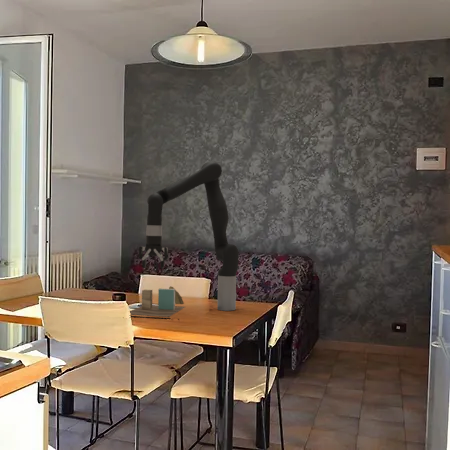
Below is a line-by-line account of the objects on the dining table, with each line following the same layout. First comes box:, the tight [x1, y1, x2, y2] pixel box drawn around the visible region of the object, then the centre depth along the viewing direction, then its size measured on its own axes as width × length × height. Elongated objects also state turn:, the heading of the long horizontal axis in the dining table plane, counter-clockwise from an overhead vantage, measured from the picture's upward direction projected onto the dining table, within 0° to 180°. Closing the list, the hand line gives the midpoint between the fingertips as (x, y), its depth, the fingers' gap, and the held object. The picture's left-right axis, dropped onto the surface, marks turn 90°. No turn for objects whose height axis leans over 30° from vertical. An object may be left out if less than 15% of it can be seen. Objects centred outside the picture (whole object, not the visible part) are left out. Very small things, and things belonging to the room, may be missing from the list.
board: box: [130, 304, 186, 320], centre depth 258 cm, size 28×22×1 cm
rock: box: [168, 286, 185, 305], centre depth 278 cm, size 11×9×10 cm
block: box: [141, 289, 153, 309], centre depth 263 cm, size 4×4×9 cm
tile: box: [157, 287, 176, 310], centre depth 261 cm, size 2×8×10 cm, turn 78°
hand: (153, 268), depth 258 cm, fingers open, 8 cm apart
